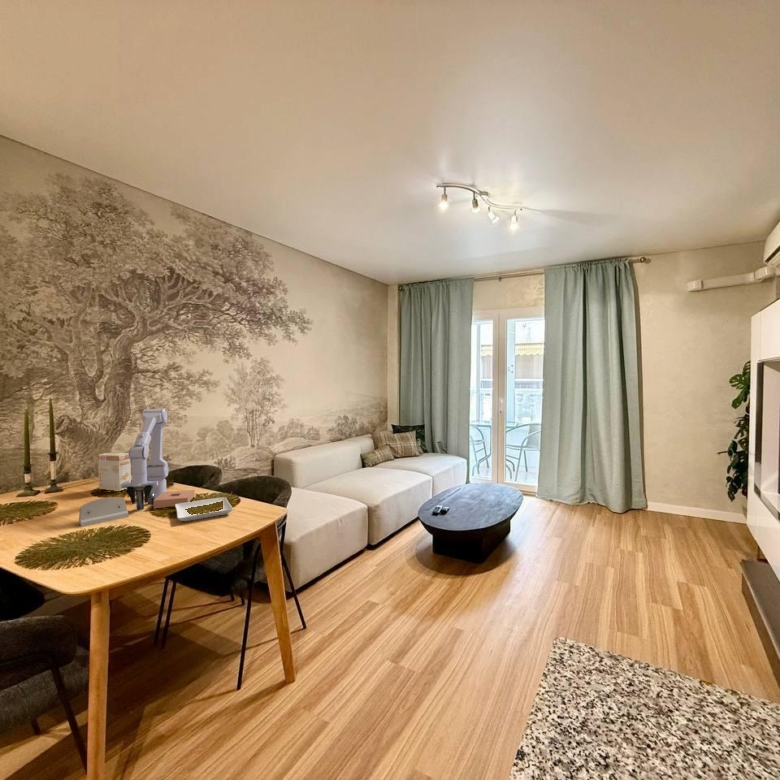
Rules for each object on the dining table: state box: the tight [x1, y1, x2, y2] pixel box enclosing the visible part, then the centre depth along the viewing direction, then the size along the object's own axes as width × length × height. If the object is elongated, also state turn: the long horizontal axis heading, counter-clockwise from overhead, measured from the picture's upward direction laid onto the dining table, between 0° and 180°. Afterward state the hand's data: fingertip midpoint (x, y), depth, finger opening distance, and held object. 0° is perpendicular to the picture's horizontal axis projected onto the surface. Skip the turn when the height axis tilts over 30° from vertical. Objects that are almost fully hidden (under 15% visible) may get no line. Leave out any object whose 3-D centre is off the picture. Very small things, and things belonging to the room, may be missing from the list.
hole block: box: [153, 489, 196, 510], centre depth 186 cm, size 14×14×4 cm
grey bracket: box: [78, 496, 129, 528], centre depth 165 cm, size 17×5×10 cm, turn 136°
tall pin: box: [135, 488, 145, 511], centre depth 178 cm, size 3×3×9 cm
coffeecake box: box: [97, 452, 132, 491], centre depth 211 cm, size 15×7×20 cm, turn 72°
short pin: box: [147, 493, 156, 505], centre depth 186 cm, size 3×3×4 cm
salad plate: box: [175, 496, 234, 522], centre depth 172 cm, size 21×21×3 cm
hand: (140, 502), depth 178 cm, fingers open, 4 cm apart
